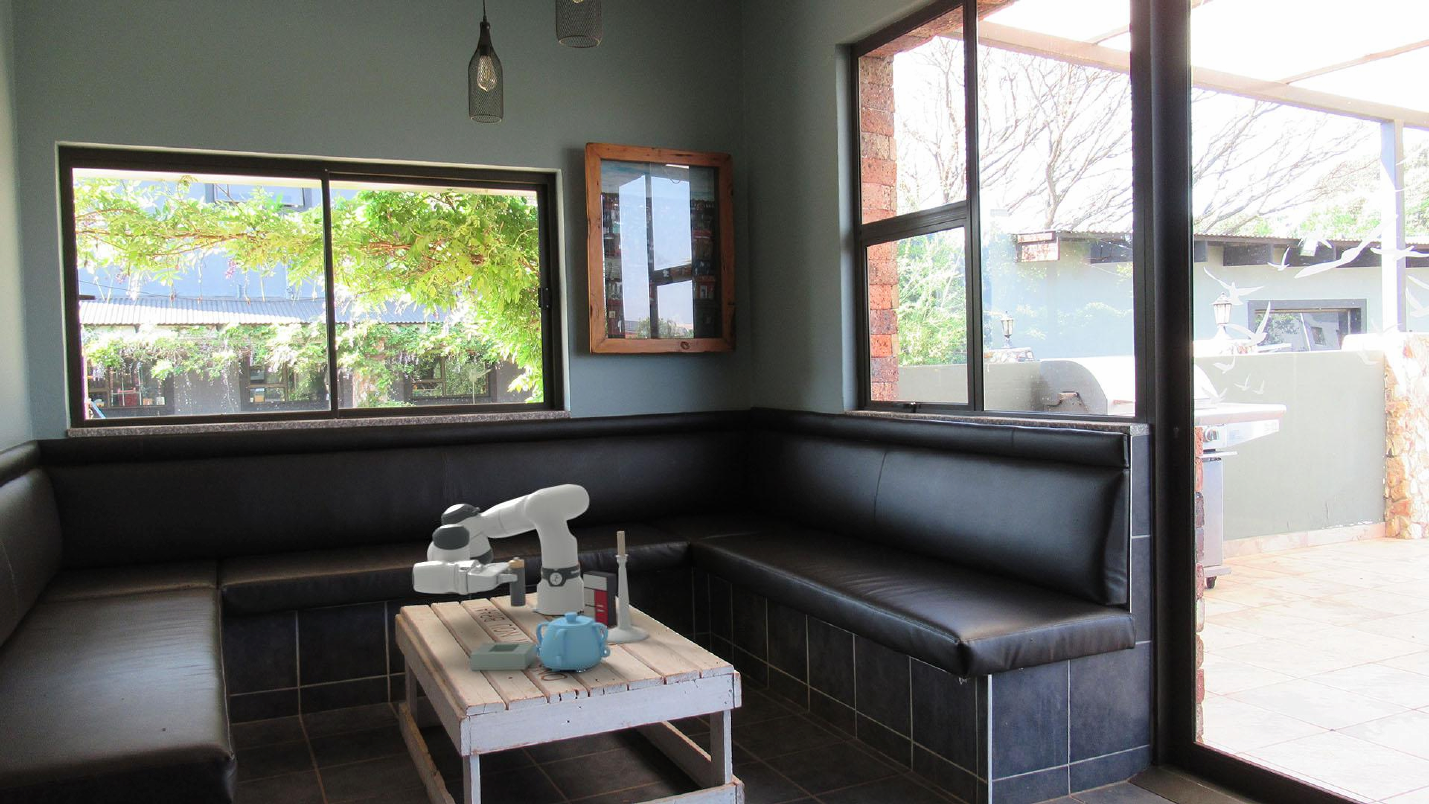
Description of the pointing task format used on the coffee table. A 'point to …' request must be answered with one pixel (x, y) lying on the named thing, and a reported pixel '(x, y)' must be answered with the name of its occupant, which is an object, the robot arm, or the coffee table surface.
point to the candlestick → (624, 604)
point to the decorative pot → (572, 643)
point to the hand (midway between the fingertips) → (520, 575)
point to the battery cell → (517, 583)
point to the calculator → (600, 597)
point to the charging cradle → (503, 656)
